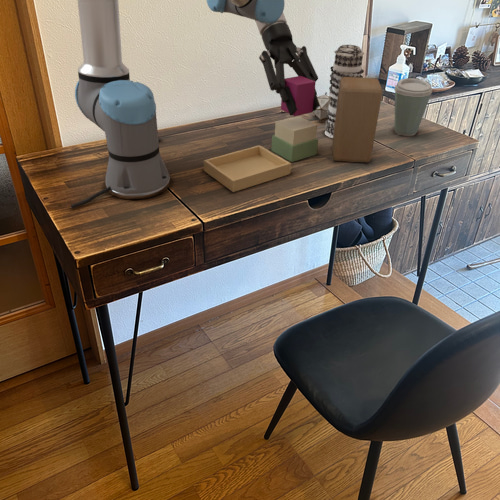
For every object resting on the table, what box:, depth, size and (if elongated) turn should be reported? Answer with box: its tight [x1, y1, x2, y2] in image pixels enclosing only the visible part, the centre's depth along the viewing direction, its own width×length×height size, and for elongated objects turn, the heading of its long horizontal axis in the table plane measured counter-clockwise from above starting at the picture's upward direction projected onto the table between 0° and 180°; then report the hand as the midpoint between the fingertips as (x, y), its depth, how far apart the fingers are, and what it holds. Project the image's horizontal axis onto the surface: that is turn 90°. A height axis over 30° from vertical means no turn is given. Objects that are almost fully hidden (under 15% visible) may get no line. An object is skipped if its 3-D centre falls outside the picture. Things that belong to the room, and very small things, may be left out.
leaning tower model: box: [324, 44, 365, 139], centre depth 140 cm, size 9×9×25 cm
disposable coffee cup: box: [393, 77, 433, 137], centre depth 145 cm, size 11×11×15 cm
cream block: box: [274, 115, 318, 145], centre depth 132 cm, size 8×8×4 cm
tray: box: [203, 144, 292, 193], centre depth 124 cm, size 18×14×3 cm
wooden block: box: [331, 77, 383, 164], centre depth 129 cm, size 10×10×20 cm
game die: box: [312, 91, 331, 123], centre depth 154 cm, size 9×8×10 cm
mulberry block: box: [280, 75, 317, 117], centre depth 126 cm, size 6×6×8 cm
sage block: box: [270, 134, 319, 163], centre depth 134 cm, size 9×9×4 cm
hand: (304, 110), depth 125 cm, fingers closed on mulberry block, 6 cm apart
